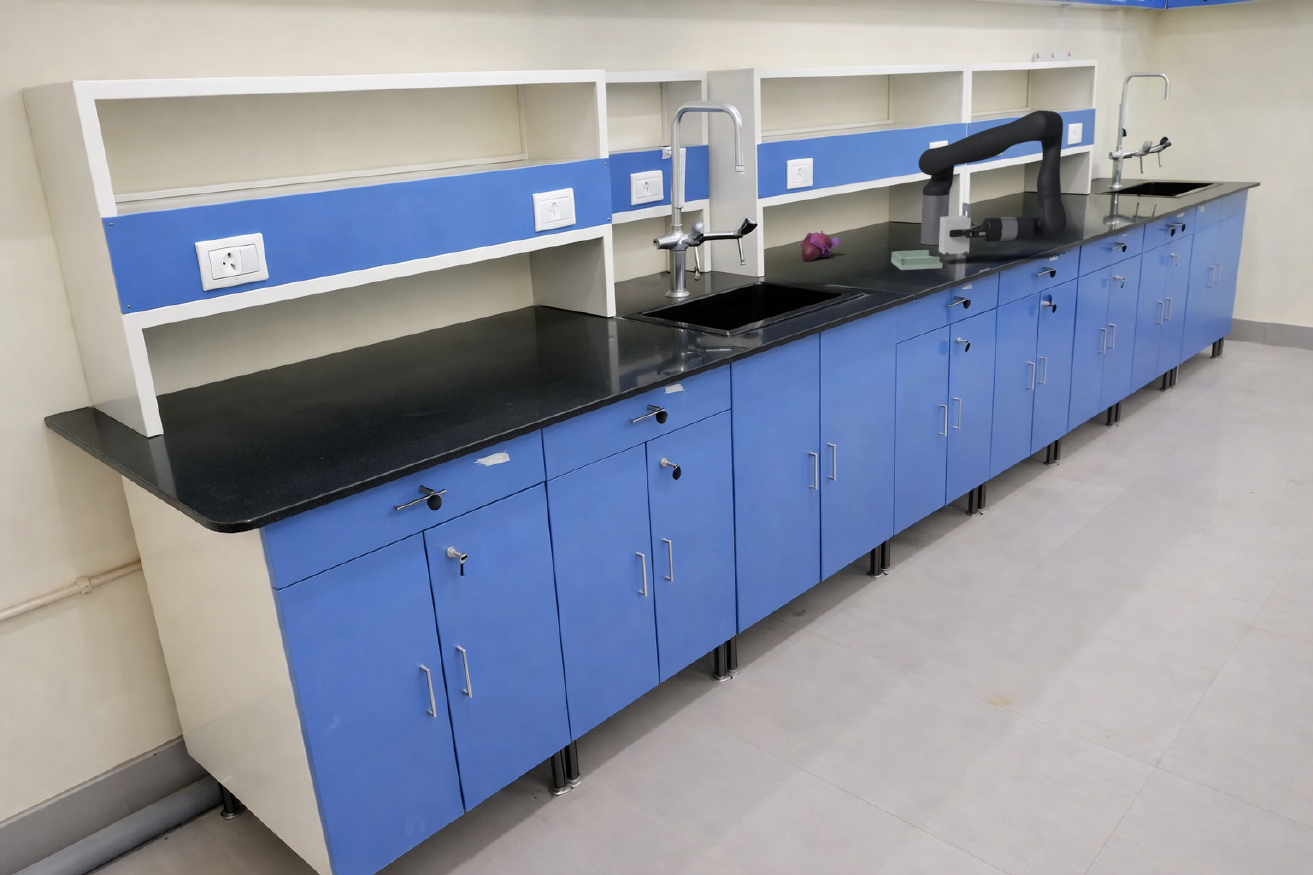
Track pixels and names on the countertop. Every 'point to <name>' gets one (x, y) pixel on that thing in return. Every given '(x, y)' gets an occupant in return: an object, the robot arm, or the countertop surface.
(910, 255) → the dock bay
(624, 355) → the countertop surface
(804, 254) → the anatomical model
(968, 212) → the grey box with feet
